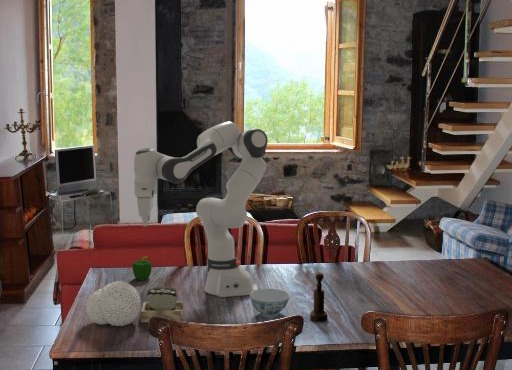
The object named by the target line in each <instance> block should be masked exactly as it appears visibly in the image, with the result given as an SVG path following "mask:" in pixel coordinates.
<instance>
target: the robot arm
mask: <svg viewBox="0 0 512 370" xmlns="http://www.w3.org/2000/svg"><path fill="white" fill-rule="evenodd" d="M196 145H197V146H196V147H197V148H196V149H194V150H193V151H191V152H190V153H188V154H187V155H185V156H182V157H174V156H169V155H166V154H163V153H161V152H158V151H157V150H155V149H154V148H153V147H147V148H141V149H139V150H137V151H136V152H135V153H134V161H133V172H134V181H133V183H134V185H133V186H134V196H135V198H136V201H137V210H138V211H137V212H138V216H139V218H141V221H142V226H143V227H148V224H149V223H148V222H150V220H151V211H152V209H153V206H154V204H153V203H154V202H153V201H154V200H153V199H154V198H155V195H156V194H157V193H158V189H157V187H158V182H157V181H158V179H161V180H163V181H167V182H169V183H172V184H173V185H174V184H176V185H177V184H181V183H183V182H184V181H185V180H186V179H187V178H188V177H189V175H190V174H191V173H192V172H193V171H194V170H196V169H197V168H199V167H200V166H202V165H203V164H205V163H206V162H208V161H209V160H211V159H212V158H213V157H215V156H217V155H218V154H220V153H222V152H224V151H226V150H228V151H229V152H230V154H231V156H233V157H234V158H235V159H237V160H238V159H239V160H241V161H240V164H239V166H238V167H237V168H236V170H235V171H234V173H233V174H232V175H231V177H230V178H229V179H228V181H227V182H226V183H225V187H226V191H227V193H226V195H225V197H224V198H223V199H222V198H217V197H204V198H201V199H200V200H199V201H198V202H197V205H196V209H195V212H196V216H197V218H198V219H199V220H200V222H201V224H202V225H203V228H204V231H205V234H206V239H207V255H208V256H207V259H206V270H207V277H206V283H205V287H204V292H205V293H206V294H209V295H213V296H216V297H218V298H227V297H240V296H250V294H251V293H252V292H253V291H256V290H259V288H258V285H257V284H256V283H254V282H253V278H252V276H251V274H250V272H249V271H247V270H245V269H244V268H243V267H241V261H240V259H239V257H236V256H235V239H234V237H233V235H232V234H231V233H230V231H229V229H239V228H241V227H242V226H244V225H245V223H246V222H247V219H248V212H247V209H246V206H247V205H246V204H247V203H248V200H249V198H250V196H251V195H252V194H253V192H254V190H255V189H256V188H257V186H258V185H259V184H260V182H261V180H262V178H263V176H264V175H265V173H266V170H267V164H266V160H264V159H263V158H262V157H264V156H265V155H266V149H267V146H268V136H267V134H266V132H265V131H264V130H262V129H259V128H250V129H248V130H245V131H243V132H242V131H241V130H239V127H238V125H237V124H236V123H234V122H233V121H225V122H222V123H218V124H215V125H214V126H212V127H209V128H207V129H206V130H205V131H202V132H201V133H200V134H199V135H198V136H197V139H196Z"/></svg>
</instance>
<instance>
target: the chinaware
mask: <svg viewBox="0 0 512 370" xmlns="http://www.w3.org/2000/svg"><path fill="white" fill-rule="evenodd" d="M249 298H250V302H251V305H252V306H253V308H255V311H258V313H260V315H261V316H262V317H264V318H275V317H276V318H277V317H278V316H279V314H280V312H283V310H284V309H285V308H286V307H287V305H288V302H289V299H290V293H289V292H287V291H285V290H282V289H276V288H261V289H258V290H256V291H253V292H252V293H251V294H250V295H249Z"/></svg>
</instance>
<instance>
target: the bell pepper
mask: <svg viewBox="0 0 512 370" xmlns="http://www.w3.org/2000/svg"><path fill="white" fill-rule="evenodd" d="M147 259H148V256H143V257H142V258H141V260H138V259H137V260H135V261H134V262H133V263H132V272H133V273H132V274H133V275H134V278H135V279H136V280H139V281H146V280H147V279H150V276H151V272H152V268H153V267H152V262H151V260H150V261H149V260H147Z"/></svg>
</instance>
